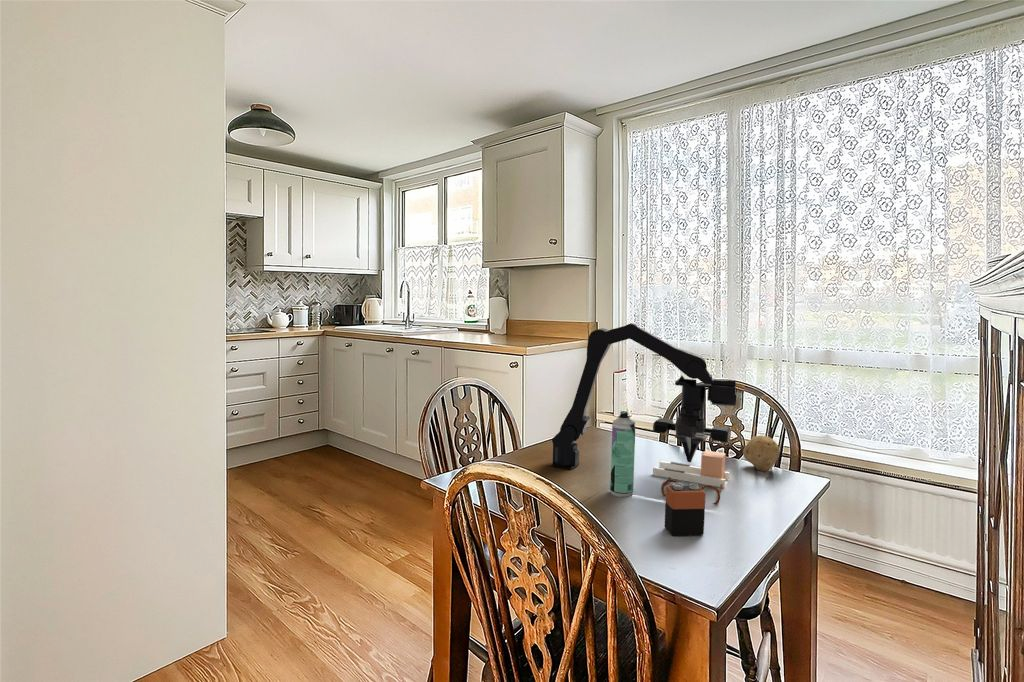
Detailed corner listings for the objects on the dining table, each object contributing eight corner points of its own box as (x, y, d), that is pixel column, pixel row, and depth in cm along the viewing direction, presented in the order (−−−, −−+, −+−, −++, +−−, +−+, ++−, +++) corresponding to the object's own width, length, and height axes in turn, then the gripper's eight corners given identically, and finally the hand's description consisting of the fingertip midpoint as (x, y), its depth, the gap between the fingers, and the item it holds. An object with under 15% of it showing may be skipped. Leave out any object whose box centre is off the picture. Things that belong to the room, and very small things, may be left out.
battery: (663, 527, 113) (665, 480, 113) (695, 527, 114) (697, 480, 113) (671, 537, 109) (673, 488, 108) (704, 536, 110) (706, 487, 109)
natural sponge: (738, 471, 151) (740, 435, 150) (747, 463, 158) (749, 429, 157) (774, 478, 146) (776, 441, 145) (781, 470, 153) (783, 435, 152)
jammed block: (700, 481, 140) (701, 455, 140) (704, 476, 144) (705, 450, 144) (721, 485, 138) (722, 458, 137) (724, 479, 142) (725, 453, 141)
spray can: (634, 490, 135) (637, 410, 133) (631, 498, 130) (634, 415, 128) (612, 487, 137) (614, 408, 135) (608, 495, 131) (611, 413, 130)
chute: (652, 477, 145) (653, 466, 145) (659, 469, 151) (660, 459, 151) (724, 489, 136) (724, 478, 136) (729, 481, 142) (729, 471, 142)
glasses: (660, 500, 130) (661, 479, 130) (668, 483, 142) (669, 464, 141) (719, 509, 125) (720, 488, 124) (723, 491, 136) (723, 471, 136)
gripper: (648, 403, 140) (645, 463, 141) (725, 413, 131) (721, 477, 132) (660, 397, 150) (657, 453, 151) (732, 405, 140) (729, 465, 142)
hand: (689, 461), depth 144 cm, fingers closed
